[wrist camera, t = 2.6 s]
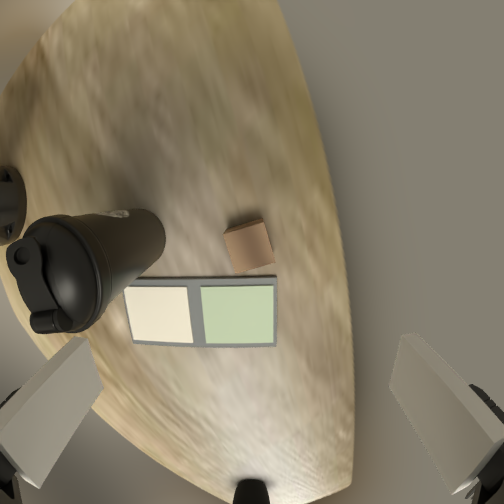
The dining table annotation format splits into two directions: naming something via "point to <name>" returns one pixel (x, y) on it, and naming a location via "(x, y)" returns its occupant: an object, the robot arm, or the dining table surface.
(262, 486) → the mug
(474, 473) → the robot arm
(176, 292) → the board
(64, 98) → the dining table surface
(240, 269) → the walnut block
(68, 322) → the black travel mug
